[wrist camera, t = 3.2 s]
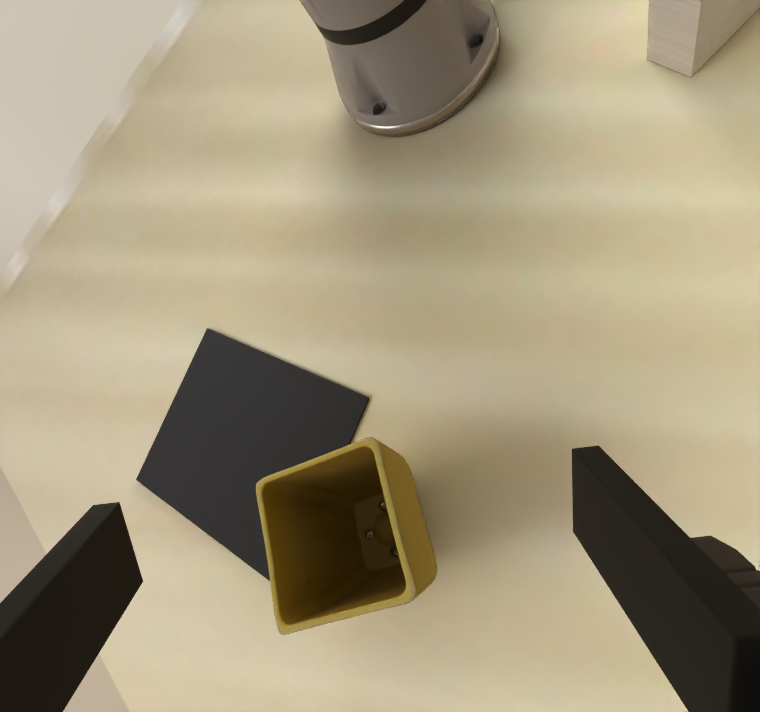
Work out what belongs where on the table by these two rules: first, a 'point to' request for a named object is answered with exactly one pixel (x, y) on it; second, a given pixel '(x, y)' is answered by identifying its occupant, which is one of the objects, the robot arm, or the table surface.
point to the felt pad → (242, 438)
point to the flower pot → (343, 536)
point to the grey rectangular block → (693, 30)
